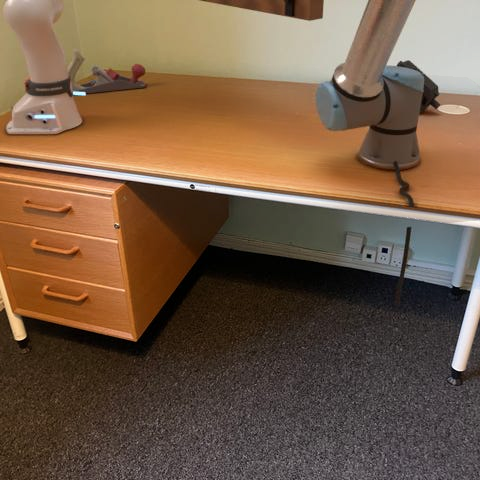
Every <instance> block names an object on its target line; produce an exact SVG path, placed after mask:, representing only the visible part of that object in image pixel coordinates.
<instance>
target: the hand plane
mask: <svg viewBox="0 0 480 480" xmlns="http://www.w3.org/2000/svg"><path fill="white" fill-rule="evenodd" d="M85 59H86V58H85V56H84V55H83V54H82V53H81V52H80V51H79V50H77V49H76V48H73V50H72V58H71V62H70V63H69V65H68V66H67V71H68V75H69V76H70V79H71V82H72V87H73V92H85V94H94V93H104V92H112V91H113V92H114V91H121V90H132V89H142V88H146V83H145V81H143V80H139V78H142V77H144V76H145V75H146V68H145V66H143V65H141V64H139V63H134V64H133V65H132V66H131V73H132V76H131V78H130V77H126V76H123V75H120V74H119V73H117V72H116V71H114V70H113V69H112V68H111V67H109V68H108V70H107V71H105V70H104V69H103V68H102V67H100V65H94V66H92V68H91V70H90V72H91V75H93V76H94V77H97V78H95V79H90V81H89V82H86V83H80V84H78V83H77V82H76V81H75V78H76V74H77V72H78V71H79V69H80V68H81V66H82V65H83V63H84V61H85Z"/></svg>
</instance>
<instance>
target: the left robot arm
mask: <svg viewBox="0 0 480 480" xmlns="http://www.w3.org/2000/svg"><path fill="white" fill-rule="evenodd" d="M63 11H64V1H63V0H6V1H5V3H4V5H3V11H2V12H3V18H4V20H5V22H6V24H7V25H8V26H9V28H11V30H12V31H13V32H14V35H15V36H16V38H17V41H18V44H19V45H20V47H21V50H22V52H23V56H24V59H25V63H26V67H27V71H28V76H29V77H26V79H25V80H24V84H23V87H24V90H25V94H24V95H23V96H22V97H21V98H20V99H19V100H18V101H17V102H16V103H15V104H14V105H13V106H12V107H11V120H10V121H8V123H7V124H6V126H5V130H6V133H7V134H8V135H58V134H61V133H62V132H65V131H68V130H71V129H74V128H77V127H78V126H80V125H81V124H82V123H83V119H82V116H81V115H80V113H79V110H78V107H77V105H76V102H75V97H74V96H87V93H85V92H73V87H72V82H71V79H70V76H69V75H68V71H67V68H68V65H67V61H66V54H65V50H64V48H63V47H62V46H61V44H60V42H59V39H58V37H57V35H56V32H55V29H54V24H56V23H57V22H58V21H59V19H60V18H61V16H62V14H63Z"/></svg>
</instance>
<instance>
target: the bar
mask: <svg viewBox="0 0 480 480" xmlns="http://www.w3.org/2000/svg"><path fill="white" fill-rule="evenodd" d="M199 1H201V2H206V3H211V4H216V5H222V6H226V7H227V6H228V7H232V8H238V9H244V10H249V11H254V12H259V13H266V14H271V15H276V16H281V17H287V18H293V19H297V20H303V21H309V22H310V21H317V20H321V19H323V18H324V5H325V3H324V2H325V1H324V0H294V16H286V15H285V2H284V0H199Z"/></svg>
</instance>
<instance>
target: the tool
mask: <svg viewBox="0 0 480 480" xmlns="http://www.w3.org/2000/svg"><path fill="white" fill-rule="evenodd" d="M396 66H399V67H404V68H409V69H413V70H416V71H418V72H420V73H421V74H422V75H423V76H424V87H423V90H424V92H423V96H422V101H421V107H420V112H419V114H421V113H423V112H424V111H425V110H427V109H428V108H429V107H430V106H431V107H432V108H433V109H435V110H437V109H439V107H441V105H442V104H441V103H440V102H438V101H437V99H436V98H437V97H439V96H440V92H439V86H438V84H437V83H436V82H434V81H433V79H431V78H430V77H429V76H428V75H427V74H426V73H424V72H423V71H422V69H420V68H419V67H418V66H417V65H416V64H414V62H412V61H411V60H409V59H408V60H404V61H402V60H400V61H398V62H397V64H396Z"/></svg>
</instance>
